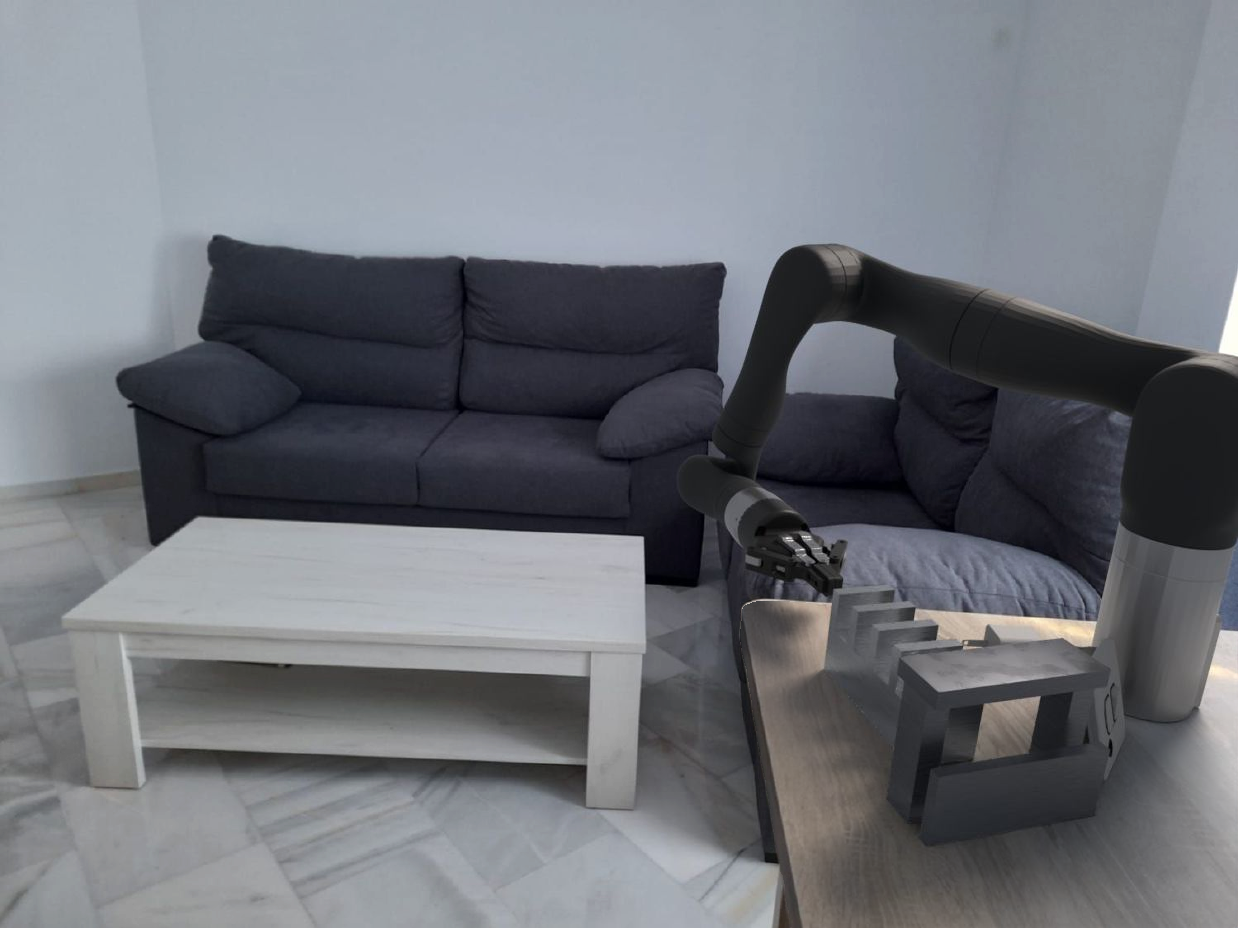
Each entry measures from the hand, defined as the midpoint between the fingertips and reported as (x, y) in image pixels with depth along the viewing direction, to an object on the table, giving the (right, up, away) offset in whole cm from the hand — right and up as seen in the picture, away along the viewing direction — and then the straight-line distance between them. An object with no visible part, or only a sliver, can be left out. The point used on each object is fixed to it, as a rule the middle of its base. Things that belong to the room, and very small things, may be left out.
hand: (835, 588), depth 91 cm
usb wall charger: (+16, -8, -1) cm, 18 cm away
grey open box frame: (+6, -14, -21) cm, 26 cm away
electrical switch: (+18, -12, -14) cm, 26 cm away
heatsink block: (+3, -10, -9) cm, 14 cm away
